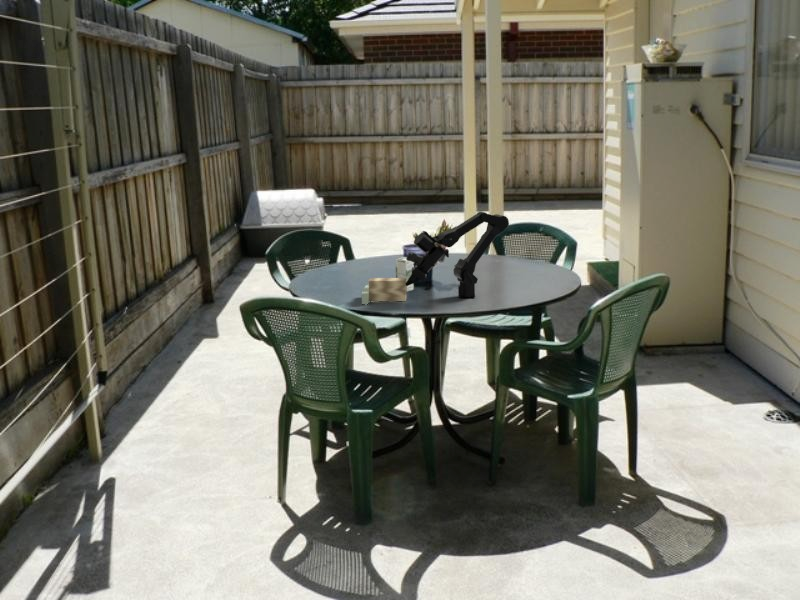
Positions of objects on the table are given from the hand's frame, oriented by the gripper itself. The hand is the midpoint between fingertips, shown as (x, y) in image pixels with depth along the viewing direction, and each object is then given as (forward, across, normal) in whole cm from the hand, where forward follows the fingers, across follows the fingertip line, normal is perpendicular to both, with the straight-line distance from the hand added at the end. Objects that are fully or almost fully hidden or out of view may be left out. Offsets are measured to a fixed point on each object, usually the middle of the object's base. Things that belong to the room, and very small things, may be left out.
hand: (406, 285), depth 360 cm
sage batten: (+16, 0, -7) cm, 18 cm away
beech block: (+10, 0, -1) cm, 10 cm away
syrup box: (+6, -19, +4) cm, 20 cm away
